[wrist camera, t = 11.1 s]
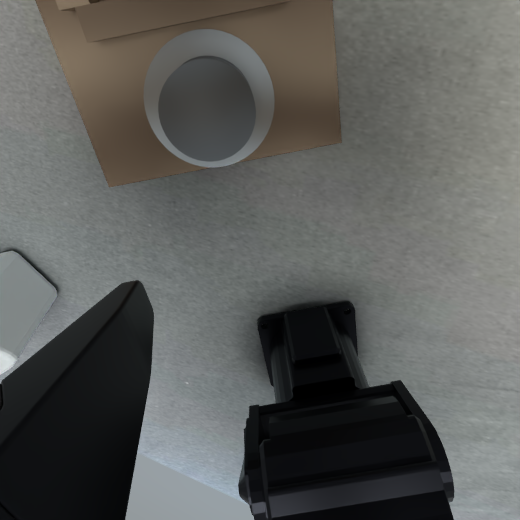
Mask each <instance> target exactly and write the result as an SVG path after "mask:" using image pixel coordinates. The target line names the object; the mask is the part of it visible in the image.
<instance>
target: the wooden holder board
mask: <svg viewBox="0 0 520 520" xmlns="http://www.w3.org/2000/svg"><path fill="white" fill-rule="evenodd" d="M35 1H36V3H37V6H38V8H39V11H40V13H41V16H42V18H43V21H44V24H45V26H46V29H47V31H48V34H49V36H50V39H51V41H52V44H53V46H54V49H55V51H56V54H57V56H58V59H59V62H60V64H61V67H62V69H63V72H64V74H65V77H66V79H67V82H68V84H69V87H70V89H71V92H72V94H73V97H74V99H75V102H76V105H77V107H78V110H79V112H80V115H81V117H82V120H83V122H84V125H85V127H86V130H87V132H88V135H89V137H90V140H91V143H92V145H93V148H94V150H95V153H96V155H97V158H98V160H99V163H100V165H101V168H102V170H103V173H104V175H105V178H106V180H107V183H108V186H109V187H113V186H119V185H124V184H129V183H134V182H139V181H145V180H150V179H155V178H160V177H165V176H171V175H176V174H181V173H186V172H191V171H197V170H202V169H207V168H212V167H223V166H228V165H232V164H234V163H238V162H243V161H249V160H254V159H259V158H264V157H269V156H275V155H280V154H285V153H290V152H295V151H301V150H306V149H311V148H316V147H321V146H327V145H332V144H337V143H342V142H341V126H340V111H339V96H338V80H337V65H336V49H335V34H334V19H333V3H332V0H35Z"/></svg>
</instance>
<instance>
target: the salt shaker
mask: <svg viewBox="0 0 520 520" xmlns="http://www.w3.org/2000/svg"><path fill="white" fill-rule="evenodd" d="M56 298H57V291H56V289H55V287H54V286H53V285H52V284H51V283H50V282H48V281H47V280H46V279H45V278H44V277H43V276H42V275H41V274H40V273H39V272H38V271H37V270H36V269H35V268H33V267H32V266H31V265H30V264H29V263H28V262H27V261H26V260H25V259H24V258H23V257H22V256H21V255H19V254H18V253H16V252H14V251H8V252H3V253H0V375H1V374H2V373H4V372H5V371H7V370H8V369H10V368H11V367H12V366H14V364H15V363H16V361H17V359H18V358H19V356H20V355H21V353H22V351H23V350H24V348H25V347H26V345H27V344H28V342H29V340H30V339H31V337H32V336H33V334H34V332H35V331H36V329H37V328H38V326H39V325H40V323H41V321H42V320H43V318H44V317H45V315H46V313H47V312H48V310H49V309H50V307H51V306H52V304H53V302H54V301H55V299H56Z"/></svg>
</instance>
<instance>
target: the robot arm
mask: <svg viewBox="0 0 520 520" xmlns="http://www.w3.org/2000/svg"><path fill="white" fill-rule="evenodd" d="M345 309H349V310H347V311H344V310H345ZM264 323H267V325H262V324H264ZM257 326H258V331H259V335H260V340H261V344H262V348H263V353H264V357H265V361H266V366H267V370H268V374H269V378H270V383H271V385H272V386H273V387H274V392H275V400H276V403H275V404H269V405H263V406H259V405H253V406H250V407H249V418H247V420H246V428H245V429H244V444H245V454H244V461H243V465H242V470H241V474H240V479H239V484H238V487H239V495H240V497H241V498H242V499H243V500H244V501H245V502H246V503H248V504H249V505H250V509H251V513H252V515H253V516H254V520H454V519H453V515H452V512H451V509H450V505H449V502H452V501H453V498H454V484H453V478H452V473H451V469H450V466H449V462H448V459H447V456H446V453H445V450H444V447H443V445H442V443H441V440H440V438H439V436H438V434H437V432H436V430H435V428H434V427H433V425H432V423H431V422H430V421H429V419H428V418H427V416H426V415H425V414H424V412H423V411H422V409H421V408H420V407H419V405H418V404H417V402H416V401H415V400H414V398H413V397H412V395H411V394H410V393H409V391H408V390H407V388H406V387H405V386H404V384H403V383H402V382H401V380H398V381H392V382H391V384H385V385H380V386H374V387H369V385H368V382H367V380H366V377H365V374H364V372H363V369H362V367H361V364H360V361H359V359H358V353H357V336H356V320H355V309H354V306H353V304H352V303H350V302H342V303H337V304H331V305H326V306H320V307H314V308H309V309H303V310H298V311H292V312H286V313H281V314H275V315H270V316H264V317H261V318H259V319H258V321H257ZM153 327H154V312H153V308H152V305H151V303H150V301H149V298H148V296H147V293H146V291H145V288H144V286H143V284H142V283H141V282H140V281H138V280H136V281H130V282H125V283H122V284H120V285H119V286H118V287H117V288H115V289H114V290H113V291H112V292H110V293H109V294H108V295H107V296H105V297H104V298H103V299H102V300H101V301H99V302H98V303H97V304H96V305H94V306H93V307H92V308H91V309H89V310H88V311H87V312H86V313H85V314H83V315H82V316H81V317H80V318H78V319H77V320H76V321H75V322H73V323H72V324H71V325H70V326H69V327H67V328H66V329H65V330H64V331H62V332H61V333H60V334H59V335H57V336H56V337H55V338H54V339H53V340H51V341H50V342H49V343H48V344H46V345H45V346H44V347H43V348H42V349H40V350H39V351H38V352H37V353H35V354H34V355H33V356H32V357H30V358H29V359H28V360H27V361H26V362H24V363H23V364H22V365H21V366H19V367H18V368H17V369H16V370H14V371H13V372H12V373H11V374H10V375H8V376H7V377H6V378H5V379H3V380H2V382H1V384H0V520H125V516H126V511H127V506H128V500H129V494H130V489H131V483H132V478H133V472H134V467H135V460H136V455H137V450H138V444H139V439H140V433H141V427H142V422H143V416H144V411H145V405H146V399H147V394H148V388H149V382H150V376H151V365H152V346H153Z"/></svg>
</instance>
